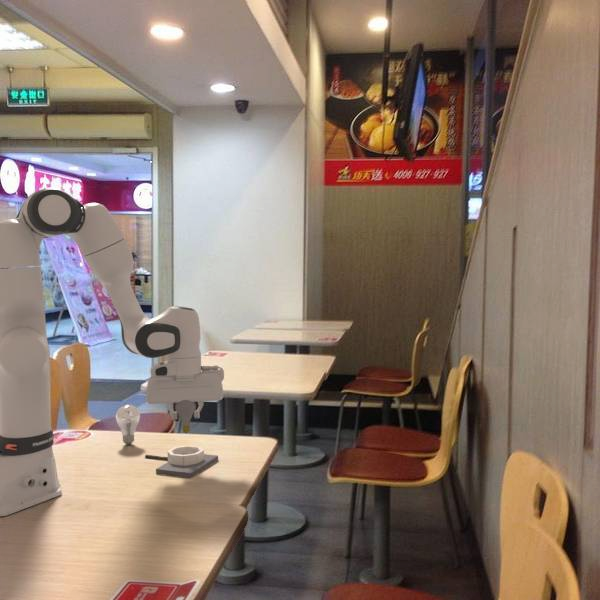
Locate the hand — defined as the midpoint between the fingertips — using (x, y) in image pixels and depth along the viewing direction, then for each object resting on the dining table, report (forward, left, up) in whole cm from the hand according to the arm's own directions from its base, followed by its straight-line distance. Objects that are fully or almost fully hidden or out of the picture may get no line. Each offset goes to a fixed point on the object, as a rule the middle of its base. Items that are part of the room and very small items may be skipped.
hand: (185, 418), depth 166 cm
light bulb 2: (0, 0, -4) cm, 4 cm away
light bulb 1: (+10, +26, -13) cm, 30 cm away
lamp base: (-2, +4, -12) cm, 13 cm away
